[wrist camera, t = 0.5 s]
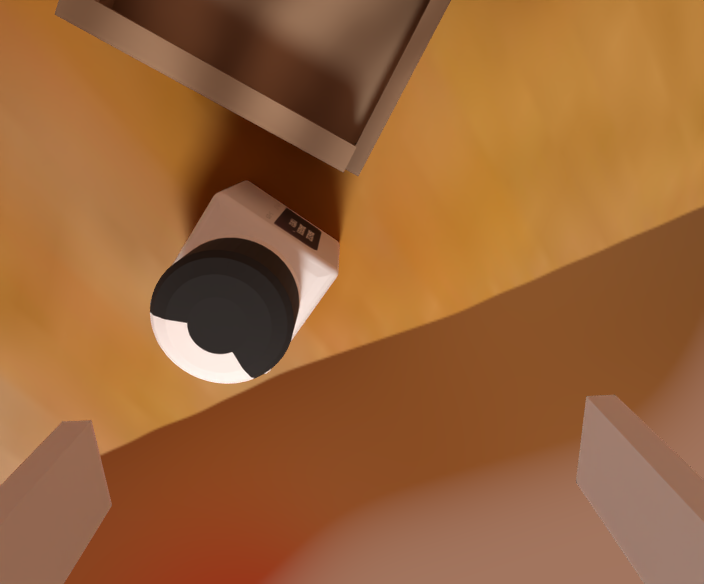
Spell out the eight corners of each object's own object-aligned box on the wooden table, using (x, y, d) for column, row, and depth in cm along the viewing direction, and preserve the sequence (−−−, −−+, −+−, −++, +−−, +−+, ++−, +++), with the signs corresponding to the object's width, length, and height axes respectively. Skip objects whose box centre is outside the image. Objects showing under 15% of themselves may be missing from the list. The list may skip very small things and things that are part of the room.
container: (245, 177, 32) (182, 203, 20) (342, 242, 34) (339, 305, 21) (188, 270, 34) (98, 346, 22) (282, 328, 36) (248, 431, 23)
